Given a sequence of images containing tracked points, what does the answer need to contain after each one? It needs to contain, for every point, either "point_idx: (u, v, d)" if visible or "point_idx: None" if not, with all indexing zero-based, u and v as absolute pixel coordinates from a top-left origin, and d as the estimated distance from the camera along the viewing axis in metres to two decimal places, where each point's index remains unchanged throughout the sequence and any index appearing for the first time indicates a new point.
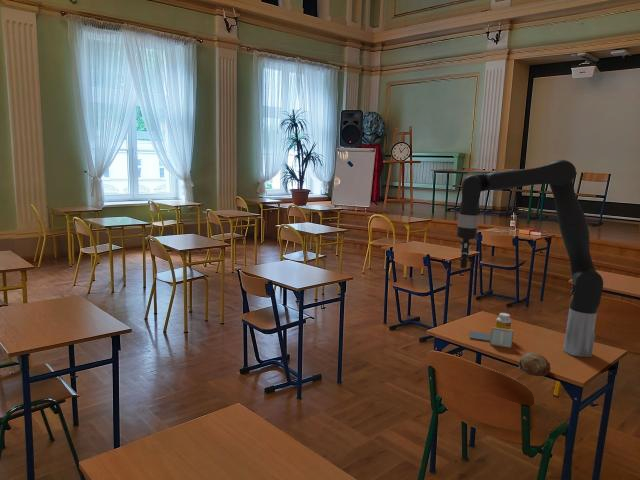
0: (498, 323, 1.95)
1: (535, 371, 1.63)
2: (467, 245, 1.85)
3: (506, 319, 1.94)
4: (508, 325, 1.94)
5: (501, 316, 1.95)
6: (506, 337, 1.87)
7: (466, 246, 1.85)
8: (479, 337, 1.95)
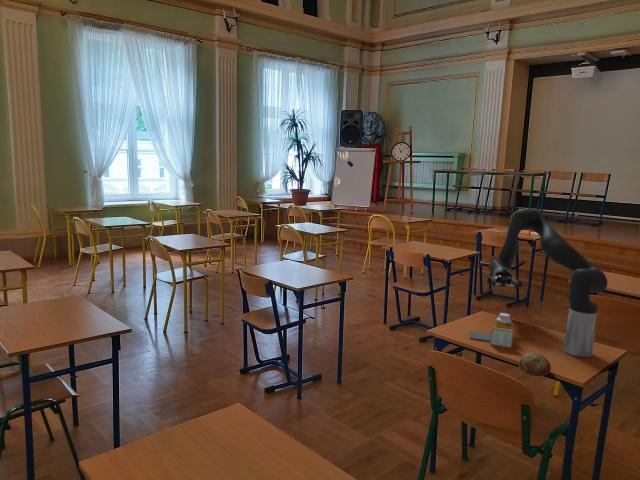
0: (498, 323, 1.95)
1: (535, 371, 1.63)
2: None
3: (506, 319, 1.94)
4: (508, 325, 1.94)
5: (501, 316, 1.95)
6: (506, 337, 1.87)
7: None
8: (479, 337, 1.95)
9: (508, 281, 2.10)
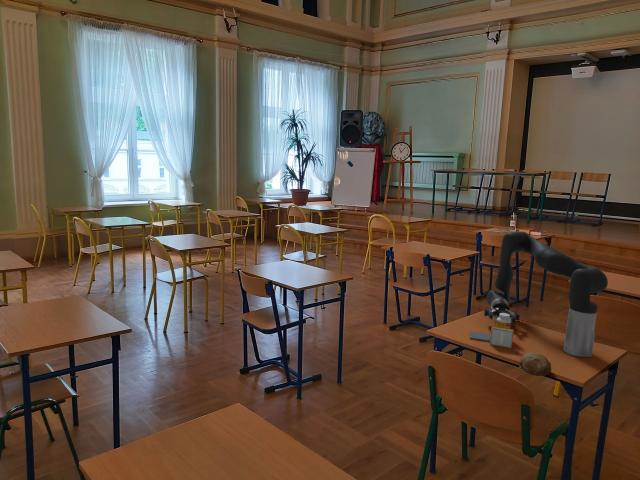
0: (498, 323, 1.95)
1: (536, 371, 1.63)
2: (485, 308, 2.14)
3: (506, 319, 1.94)
4: (508, 325, 1.94)
5: (501, 316, 1.95)
6: (506, 337, 1.87)
7: None
8: (479, 337, 1.95)
9: None
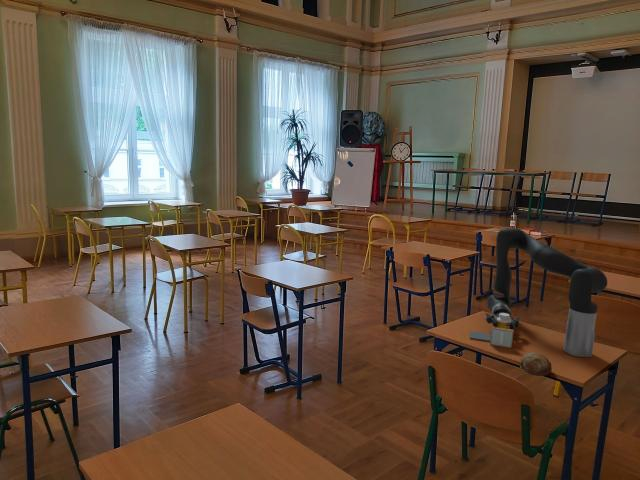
0: (498, 323, 1.95)
1: (536, 371, 1.63)
2: None
3: (506, 319, 1.94)
4: (508, 325, 1.94)
5: (501, 316, 1.95)
6: (506, 337, 1.87)
7: (486, 316, 2.04)
8: (479, 337, 1.95)
9: None
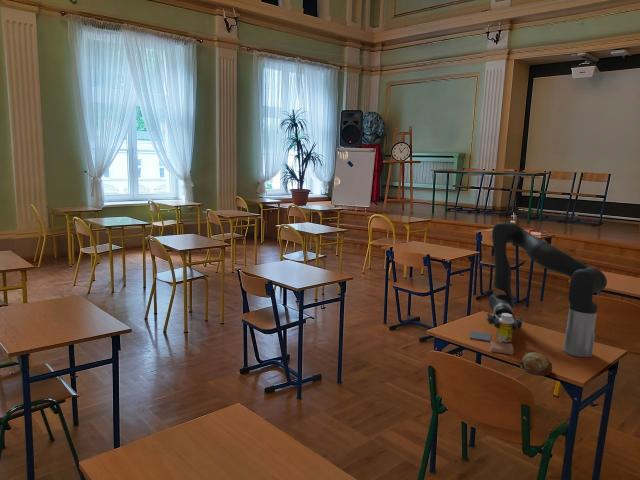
0: (500, 324, 1.86)
1: (537, 370, 1.64)
2: (487, 315, 1.96)
3: (508, 320, 1.85)
4: (510, 326, 1.85)
5: (503, 316, 1.86)
6: None
7: (487, 316, 1.95)
8: (479, 337, 1.95)
9: None
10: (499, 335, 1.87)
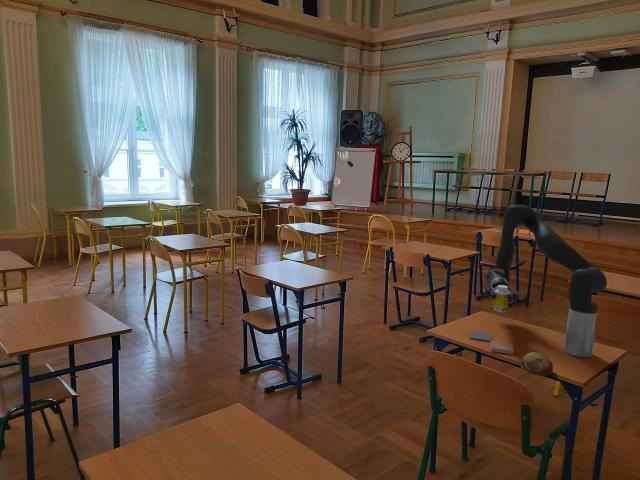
0: (496, 295, 1.93)
1: (538, 370, 1.64)
2: (484, 288, 2.03)
3: (504, 291, 1.92)
4: (506, 297, 1.92)
5: (499, 288, 1.93)
6: None
7: (484, 289, 2.02)
8: (479, 337, 1.95)
9: None
10: (495, 306, 1.94)
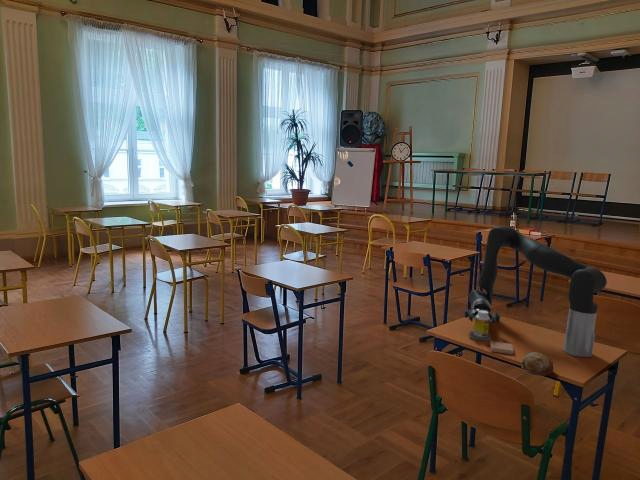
0: (477, 320, 1.95)
1: (538, 370, 1.64)
2: (465, 309, 2.05)
3: (484, 317, 1.94)
4: (486, 322, 1.94)
5: (480, 313, 1.95)
6: None
7: (465, 310, 2.04)
8: (479, 337, 1.95)
9: None
10: (476, 331, 1.96)
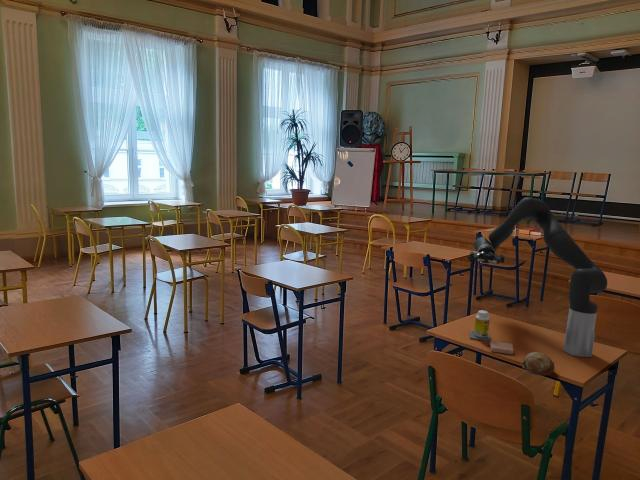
0: (477, 320, 1.95)
1: (539, 370, 1.64)
2: (470, 253, 2.13)
3: (484, 317, 1.94)
4: (486, 322, 1.94)
5: (480, 313, 1.95)
6: None
7: None
8: (479, 337, 1.95)
9: (491, 257, 2.08)
10: (476, 331, 1.96)
